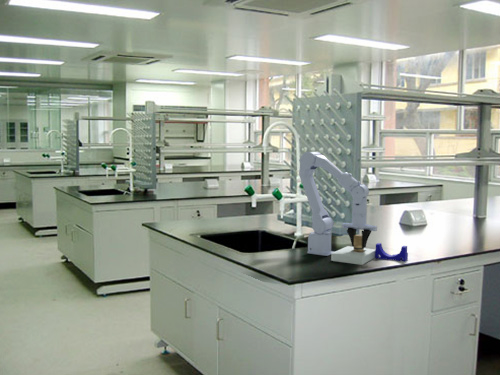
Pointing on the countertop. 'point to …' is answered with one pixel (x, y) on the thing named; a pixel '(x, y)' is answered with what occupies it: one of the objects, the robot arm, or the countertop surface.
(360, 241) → the oak peg
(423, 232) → the countertop surface
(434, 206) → the countertop surface
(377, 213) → the countertop surface
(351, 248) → the hole board
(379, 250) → the blue cradle bracket
